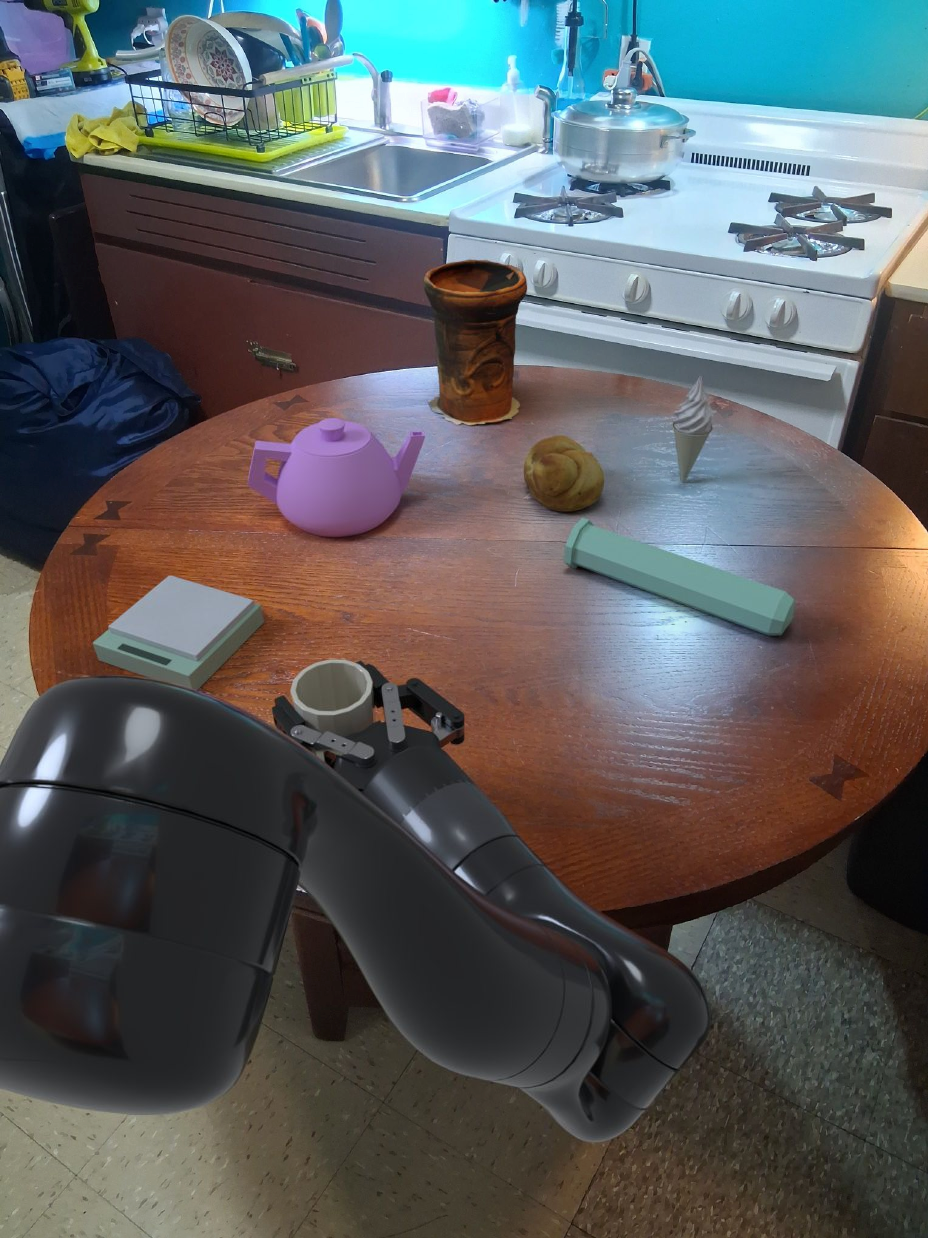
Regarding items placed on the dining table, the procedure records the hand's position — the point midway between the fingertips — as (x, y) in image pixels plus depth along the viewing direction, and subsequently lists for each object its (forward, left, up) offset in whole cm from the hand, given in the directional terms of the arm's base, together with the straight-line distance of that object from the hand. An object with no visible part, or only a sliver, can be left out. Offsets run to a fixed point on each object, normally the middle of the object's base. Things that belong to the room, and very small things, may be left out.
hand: (318, 687), depth 68 cm
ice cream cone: (+64, -15, -13) cm, 67 cm away
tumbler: (-1, -2, -7) cm, 7 cm away
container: (+39, -20, -13) cm, 46 cm away
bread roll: (+55, -1, -13) cm, 56 cm away
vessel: (+73, +19, -13) cm, 76 cm away
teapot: (+40, +23, -13) cm, 48 cm away
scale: (+11, +25, -12) cm, 30 cm away
